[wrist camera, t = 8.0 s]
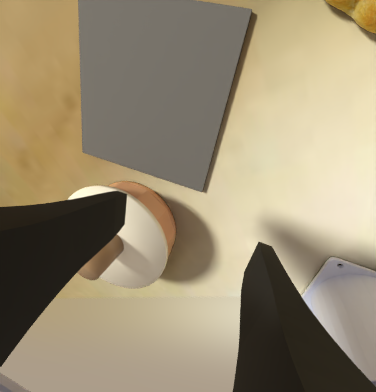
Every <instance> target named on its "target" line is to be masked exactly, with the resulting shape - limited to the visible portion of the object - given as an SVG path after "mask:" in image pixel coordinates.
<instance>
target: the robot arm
mask: <svg viewBox="0 0 376 392" xmlns="http://www.w3.org/2000/svg"><path fill="white" fill-rule="evenodd" d="M126 203H127V194H125V193H123V192H120V191H111V192H105V193H100V194H95V195H91V196H86V197H81V198H76V199H70V200H65V201H59V202H53V203H46V204H37V205H27V206H11V207H0V367H1V366H2V365H3V363H4V362H5V360H6V359H7V358H8V356H9V355H10V354H11V352H12V351H13V350H14V348H15V347H16V345H17V344H18V343H19V342H20V340H21V339H22V338H23V336H24V335H25V334H26V332H27V331H28V330H29V328H30V327H31V326H32V325H33V323H34V322H35V321H36V320H37V318H38V317H39V316H40V315H41V313H42V312H43V311H44V310H45V308H46V307H47V306H48V305H49V303H50V302H51V301H52V300H53V299H54V298H55V297H56V295H57V294H58V293H59V292H60V291H61V289H62V288H63V287H64V286H65V285H66V284H67V283H68V282H69V281H70V279H71V278H72V277H73V276H74V275H75V274H76V273H77V272H78V271H79V270H80V269H81V268H82V267H83V266H84V265H85V264H86V263H87V262H88V261H90V260H91V259H92V258H93V257H94V256H95V255H96V254H97V253H98V252H99V251H100V250H101V249H103V248H104V247H105V246H106V245H107V244H108V243H109V242H110V241H111V240H112V239H113V238H114V237H115V236H116V235H117V234H118V232H119V231H120V230H121V229H122V227H123V226H124V225H125V215H126ZM338 264H342V265H338ZM0 392H30V391H29V390H27V389H25V388H24V387H22V386H21V385H19V384H17V383H16V382H14V381H12V380H11V379H9V378H8V377H6V376H5V375H3V374H1V373H0ZM233 392H376V271H374V270H371V269H368V268H365V267H362V266H360V265H357V264H354V263H351V262H348V261H345V260H343V259H340V258H337V257H330V258H329V259H328V260H327V261H326V262H325V264H324V265H323V267H322V268H321V269H320V271H319V272H318V274H317V275H316V276H315V278H314V279H313V280H312V282H311V283H310V285H309V286H308V287H307V289H306V290H305V292H304V293H303V294H302V296H301V295H300V294H299V292H298V291H297V289H296V287H295V286H294V284H293V283H292V281H291V279H290V278H289V276H288V274H287V273H286V271H285V269H284V267H283V266H282V264H281V262H280V260H279V259H278V257H277V255H276V253H275V251H274V250H273V248H272V246H269V245H266V244H264V243H261V242H258V244H257V247H256V249H255V251H254V253H253V255H252V257H251V259H250V261H249V263H248V265H247V267H246V269H245V272H244V277H243V283H242V289H241V309H240V339H239V352H238V359H237V366H236V374H235V381H234V388H233Z"/></svg>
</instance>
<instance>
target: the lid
mask: <svg viewBox="0 0 376 392" xmlns="http://www.w3.org/2000/svg"><path fill="white" fill-rule="evenodd" d="M111 191H120V192H123V193H125V194H127V203H126V215H125V225H124V226H123V227H122V229H121V230H120V231H119V232H118V234H117V235H116V236H115V237H114V238H113V239H112V240H111V241H110V242H109V243H108V244H107V245H106V246H105V247H104V248H103V249H101V250H100V251H99V252H98V253H97V254H96V255H95V256H94V257H93V258H92V259H91V260H90V261H88V262H87V263H86V264H85V265H84V266H83V267H82V268H81V269H80V270H79V271H78V272H77V273H78V274H80V275H81V276H82V277H84V278H86V279H89V280H96V279H98V278H99V277H100V278H101V279H103V280H105V281H107V282H109V283H111V284H114V285H116V286H120V287H124V288H142V287H146V286H149V285H151V284H152V283H154V282H155V281H156V280H157V279H158V278H159V277H160V276H161V274H162V272H163V271H164V269H165V267H166V264H167V260H168V245H167V240H166V237H165V234H164V232H163V230H162V227H161V225H160V224H159V222H158V221H157V219H156V218H155V216H154V215H153V214H152V212H151V211H150V210H149V209H148V208H147V207H146V206H145V205H144V204H143V203H141V202H140V201H139V200H138V199H136V198H135V197H134V196H132V195H131V194H129V193H127V192H125V191H123V190H120V189H118V188H115V187H111V186H106V185H92V186H88V187H85V188H82V189H80V190H78V191H77V192H75V193H73V194H72V195H71V196H70V197H69V199H68V200H70V199H76V198H81V197H86V196H91V195H95V194H100V193H105V192H111Z"/></svg>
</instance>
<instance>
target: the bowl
mask: <svg viewBox="0 0 376 392" xmlns="http://www.w3.org/2000/svg"><path fill="white" fill-rule="evenodd" d="M108 186H111V187H115V188H118V189H120V190H123V191H125V192H127V193H129V194H131V195H132V196H134V197H135V198H136V199H138V200H139V201H140V202H141V203H143V204H144V205H145V206H146V207H147V208H148V209H149V210H150V211H151V212H152V214H153V215H154V216H155V218H156V219H157V221H158V222H159V224H160V225H161V227H162V230H163V232H164V234H165V237H166V240H167V245H168V256H169V255H170V253H171V249H172V246H173V244H174V242H175V239H176V224H175V220H174V217H173V215H172V212H171V211H170V209H169V207H168V206H167V204H166V203H165V202H164V200H163V199H162V198H161V197H160V196H159V195H158V194H156V193H155V192H154V191H152V190H151V189H150V188H148V187H146V186H144V185H142V184H139V183H135V182H130V181H120V182H116V183H113V184H111V185H108Z"/></svg>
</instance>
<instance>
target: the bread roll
mask: <svg viewBox="0 0 376 392" xmlns="http://www.w3.org/2000/svg"><path fill="white" fill-rule="evenodd" d="M325 1H326V2H327V3H328V4H330V5H332V6H334V7H335V8H337V9H339V10H342V11H343V12H345V13H346V14H347V15H349V16H351V17H352V18H353V19H354V20H355V22H356V23H357V24H358V25H359V26H360V27H362V28H363V29H365V30H367V31H369V32H372V33H375V34H376V0H325Z"/></svg>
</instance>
